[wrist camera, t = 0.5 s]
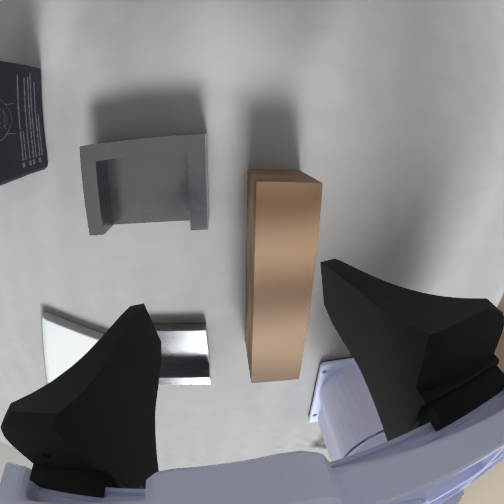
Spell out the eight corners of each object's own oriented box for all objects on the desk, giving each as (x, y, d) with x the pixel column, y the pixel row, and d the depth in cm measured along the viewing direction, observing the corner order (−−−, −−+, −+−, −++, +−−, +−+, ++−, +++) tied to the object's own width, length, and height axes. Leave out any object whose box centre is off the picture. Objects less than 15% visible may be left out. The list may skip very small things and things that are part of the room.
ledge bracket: (210, 363, 26) (210, 383, 23) (144, 364, 25) (139, 383, 23) (205, 322, 24) (205, 342, 22) (133, 324, 23) (127, 342, 21)
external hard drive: (129, 337, 25) (118, 414, 29) (47, 307, 23) (53, 391, 27) (125, 348, 23) (115, 425, 27) (40, 317, 21) (48, 401, 25)
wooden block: (285, 338, 26) (298, 378, 21) (245, 340, 25) (251, 382, 21) (299, 170, 20) (322, 183, 16) (247, 169, 20) (256, 181, 15)
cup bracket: (209, 215, 21) (207, 229, 18) (105, 221, 20) (89, 235, 17) (206, 133, 19) (204, 134, 16) (97, 143, 18) (79, 146, 15)
